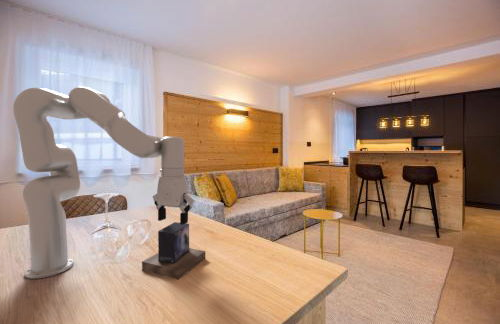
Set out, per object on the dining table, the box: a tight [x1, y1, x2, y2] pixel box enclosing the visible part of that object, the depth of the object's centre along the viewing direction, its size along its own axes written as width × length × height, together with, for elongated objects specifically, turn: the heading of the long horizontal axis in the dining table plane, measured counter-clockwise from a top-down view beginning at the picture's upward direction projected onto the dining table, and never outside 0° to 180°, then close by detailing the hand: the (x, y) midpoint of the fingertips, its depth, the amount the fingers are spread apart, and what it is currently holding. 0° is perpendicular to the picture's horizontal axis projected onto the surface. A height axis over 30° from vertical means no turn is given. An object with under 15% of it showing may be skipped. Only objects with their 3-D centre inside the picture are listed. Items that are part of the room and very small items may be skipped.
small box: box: [157, 221, 190, 263], centre depth 83 cm, size 11×6×10 cm, turn 167°
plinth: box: [141, 247, 206, 280], centre depth 83 cm, size 15×15×3 cm
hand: (172, 221), depth 83 cm, fingers open, 9 cm apart
